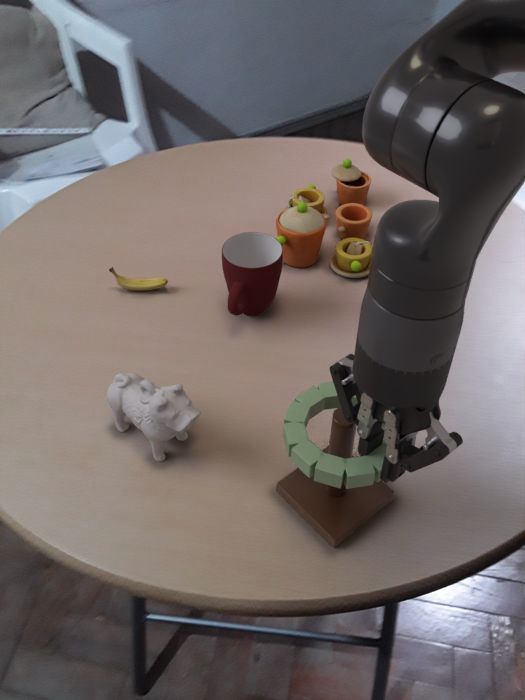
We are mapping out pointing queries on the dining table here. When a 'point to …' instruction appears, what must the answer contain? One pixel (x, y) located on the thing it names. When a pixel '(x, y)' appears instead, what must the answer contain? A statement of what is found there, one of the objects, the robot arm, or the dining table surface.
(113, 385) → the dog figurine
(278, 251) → the mug
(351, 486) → the ring
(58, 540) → the dining table surface
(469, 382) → the dining table surface
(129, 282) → the banana
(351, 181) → the toy tea set
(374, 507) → the holder
